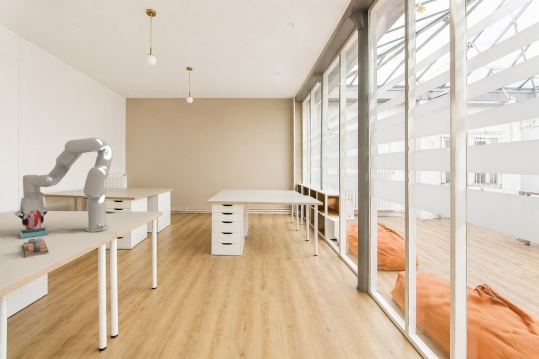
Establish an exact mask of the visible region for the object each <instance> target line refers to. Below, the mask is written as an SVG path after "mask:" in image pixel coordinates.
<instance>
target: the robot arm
mask: <svg viewBox="0 0 539 359" xmlns="http://www.w3.org/2000/svg"><path fill="white" fill-rule="evenodd" d="M92 152H97V156H96V159H95V161H94V162H95V163H94V165H93V167H91V168H90V169H89V171H88V172H87V175H86V179H85V184H84V187H83V194H84V195H85V197H87V217H88V218H87V220H88V221H87V222H88V223H87V224H88V227H86V228H85V232H88V233H89V232H90V233H91V232H92V233H94V232H97V233H98V232H102V231H106V230H108V229H109V225H108V224H107V222H106V221H107V218H106V217H107V216H106V215H107V214H106V192H107V191H106V186H105V181H106V179H108V177H109V173H110V169H111V165H112V161H113V157H114V156H113V155H114V153H113V149H112V147H111V146H110V144H109V143H107V142H106V141H105V140H103V139H101V138H98V137H88V138H87V137H86V138H79V139H78V138H77V139H70V140H68V141H66V143H65V144H64V149H63V151H62V152H61V153H60V154H59V155H58V156H57V157H56V160H55V165H54V166H53V168H52V170H50V171H49V173H48V174H41V175H38V174H26V175H23V176H22V186H23V187H22V192H23V194H22V196H23V197H21V200H20V204H19V210H17V211H16V212H15V213H14V215H15V216H16V217H18V218H19V219H21V225H23V226H24V227H25V226H27V219H26V217H27V215H28V214H29V213H30V212H31V211H34V210H38V211H39V212H40V213H41V224H44V220H45V219H44V218H45V215H47V214H48V213H49V211H50V208H48V207H47V206H45V204H44V200H43V196H42V195H44V192H41V188H49V187H52V186H56V185H58V184H59V183H60V182H61V180H63V178H64V177H65V176H66V175H67V173H68V172H69V171H70V169H71V168H72V166H73V165H74V164H75V163H76V161H77V160H78V159H79V158H81V156H82V155H83V154H84V153H85V154H86V153H92Z"/></svg>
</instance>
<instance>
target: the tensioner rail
mask: <svg viewBox="0 0 539 359" xmlns="http://www.w3.org/2000/svg"><path fill="white" fill-rule="evenodd" d="M43 241H44V248H41V249H40V241H39V240H38V241H33V250H28V241H25V242H22V243H23V250H24V254H25V258H29V257H30V258H31V257H36V256H39V255H40V256H41V255H46V254H47V255H48V254H49V249H48V246H47V244H46V241H45V239H44V238H43Z"/></svg>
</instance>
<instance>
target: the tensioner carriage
mask: <svg viewBox="0 0 539 359" xmlns="http://www.w3.org/2000/svg"><path fill="white" fill-rule="evenodd" d="M43 239H44V238H43V237H33V238H31V239H28V241H27V242H28V250H33V241H38V240H39V241H40V249H41V248H44V241H45V240H44V241H43Z"/></svg>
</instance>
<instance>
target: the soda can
mask: <svg viewBox="0 0 539 359" xmlns="http://www.w3.org/2000/svg"><path fill="white" fill-rule="evenodd" d="M26 219H27V226H24V228H25V230H37V229H39V228H42V223H41V213H40V212H39V211H38V210H34V211H31V212H30V213H29V214H28V215H27V217H26Z"/></svg>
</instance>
